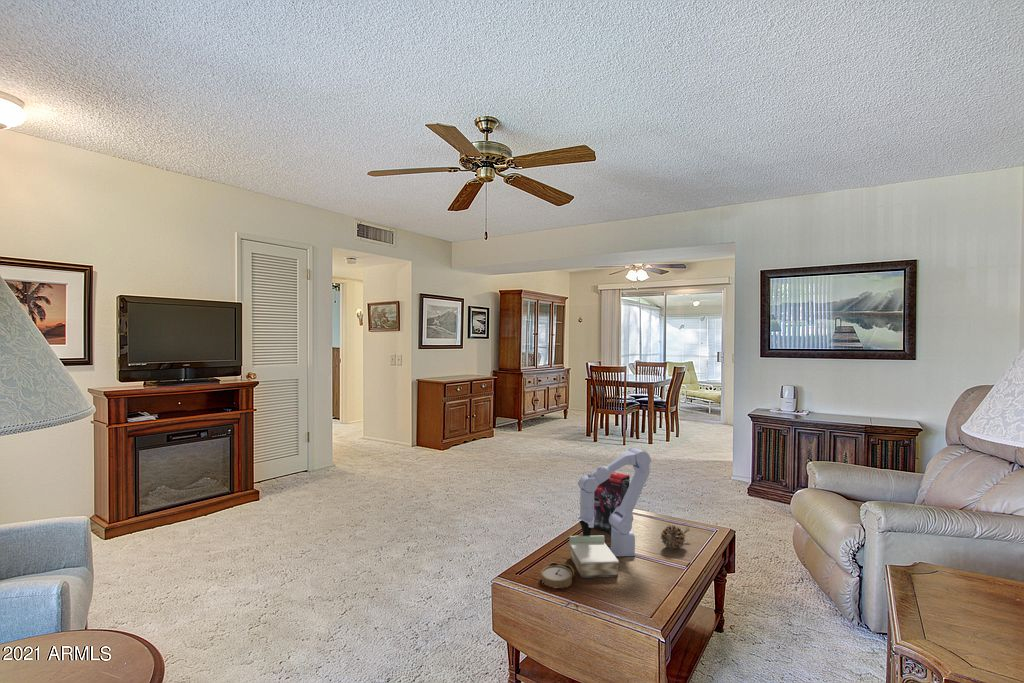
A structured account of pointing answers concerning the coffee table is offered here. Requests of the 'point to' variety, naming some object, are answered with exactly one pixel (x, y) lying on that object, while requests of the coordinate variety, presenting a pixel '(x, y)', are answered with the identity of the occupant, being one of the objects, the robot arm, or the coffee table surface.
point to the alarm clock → (557, 575)
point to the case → (594, 568)
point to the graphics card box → (609, 499)
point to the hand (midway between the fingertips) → (586, 539)
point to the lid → (592, 549)
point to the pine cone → (673, 536)
